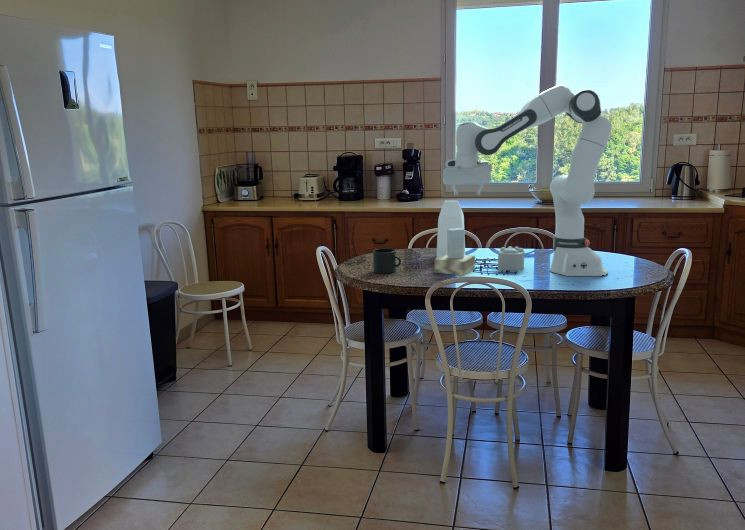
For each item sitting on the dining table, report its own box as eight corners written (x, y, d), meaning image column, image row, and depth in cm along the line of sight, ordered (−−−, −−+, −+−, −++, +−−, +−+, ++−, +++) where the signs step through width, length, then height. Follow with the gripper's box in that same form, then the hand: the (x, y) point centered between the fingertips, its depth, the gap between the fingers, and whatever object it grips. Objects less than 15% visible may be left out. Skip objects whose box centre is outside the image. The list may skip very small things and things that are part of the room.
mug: (396, 275, 266) (396, 253, 264) (369, 273, 270) (369, 251, 268) (404, 270, 274) (404, 249, 272) (378, 268, 279) (378, 247, 277)
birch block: (474, 269, 275) (474, 255, 274) (464, 276, 264) (464, 261, 263) (445, 267, 281) (445, 253, 280) (434, 273, 270) (434, 259, 269)
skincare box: (459, 255, 274) (460, 227, 271) (464, 257, 270) (464, 229, 267) (446, 256, 272) (446, 228, 269) (450, 259, 268) (451, 230, 265)
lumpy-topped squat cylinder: (496, 269, 273) (496, 249, 271) (502, 263, 285) (502, 244, 283) (521, 271, 269) (521, 250, 267) (526, 265, 281) (526, 245, 279)
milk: (436, 258, 298) (436, 201, 293) (439, 254, 309) (440, 199, 304) (462, 259, 295) (463, 202, 290) (465, 254, 306) (466, 199, 301)
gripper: (492, 160, 271) (492, 193, 274) (444, 161, 277) (444, 194, 280) (491, 161, 265) (491, 195, 268) (441, 162, 271) (442, 196, 274)
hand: (467, 195), depth 274 cm, fingers open, 8 cm apart
